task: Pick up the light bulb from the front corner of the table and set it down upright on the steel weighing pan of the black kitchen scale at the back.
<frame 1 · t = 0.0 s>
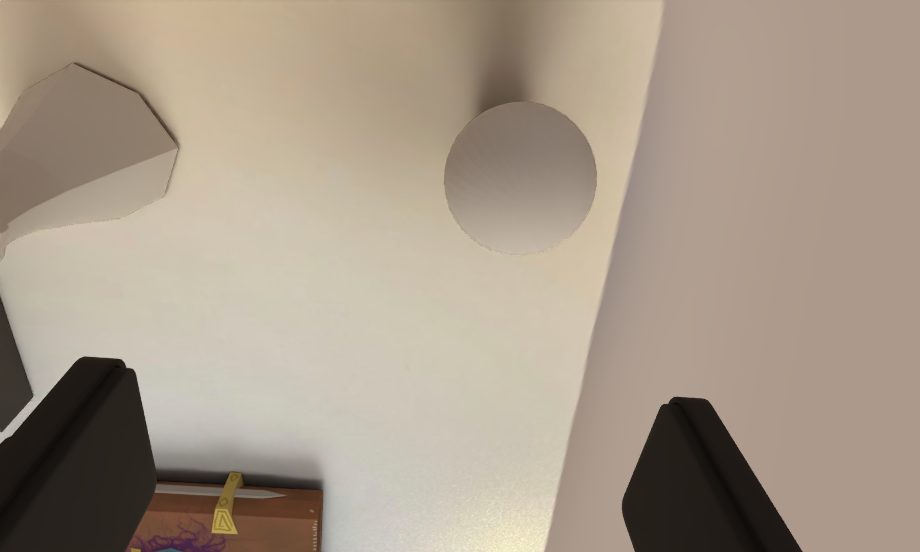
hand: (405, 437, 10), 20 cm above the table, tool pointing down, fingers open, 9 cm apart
book: (164, 537, 43), on the table
light bulb: (499, 129, 28), on the table
flask: (102, 143, 28), on the table
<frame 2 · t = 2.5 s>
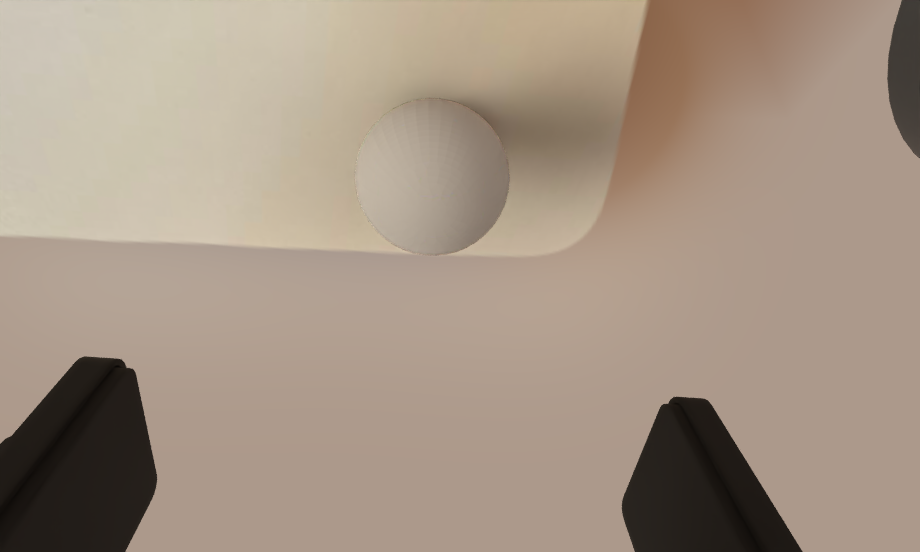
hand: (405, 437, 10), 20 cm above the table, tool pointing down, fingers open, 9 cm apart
light bulb: (434, 127, 28), on the table
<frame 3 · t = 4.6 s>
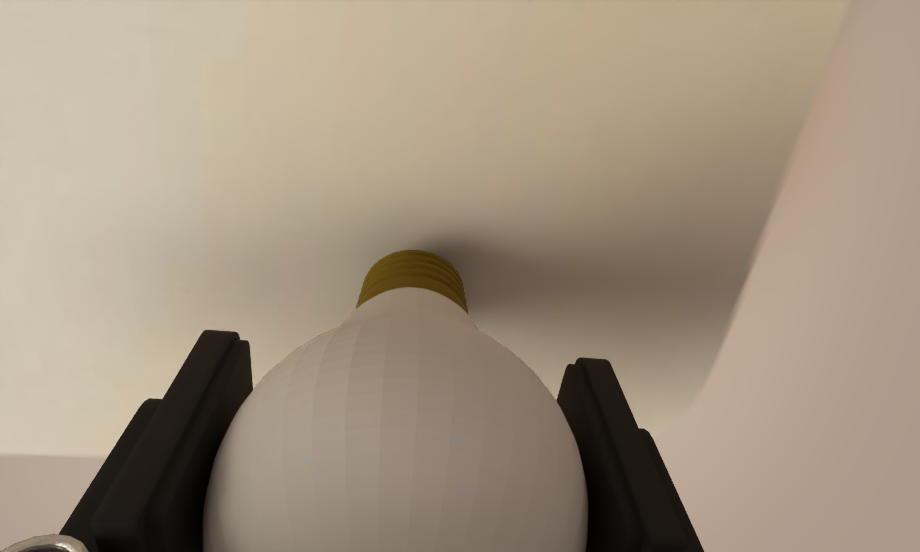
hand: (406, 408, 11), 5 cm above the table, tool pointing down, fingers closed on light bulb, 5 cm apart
light bulb: (414, 274, 15), on the table, touching gripper
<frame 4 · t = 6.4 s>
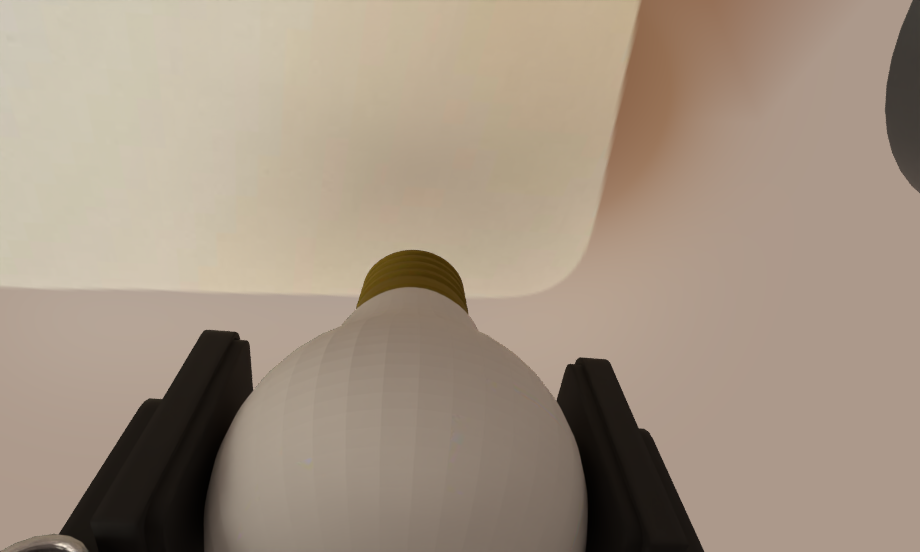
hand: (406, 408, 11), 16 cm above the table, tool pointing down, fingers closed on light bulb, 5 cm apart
light bulb: (414, 274, 15), point 11 cm above the table, touching gripper
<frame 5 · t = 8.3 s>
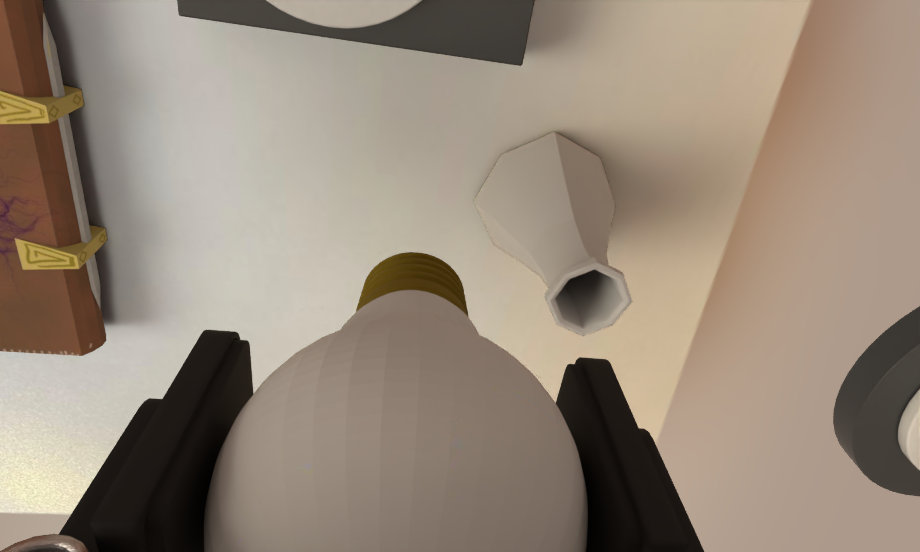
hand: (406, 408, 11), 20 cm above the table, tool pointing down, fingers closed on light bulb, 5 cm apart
light bulb: (414, 277, 15), point 15 cm above the table, touching gripper
flask: (543, 199, 30), on the table
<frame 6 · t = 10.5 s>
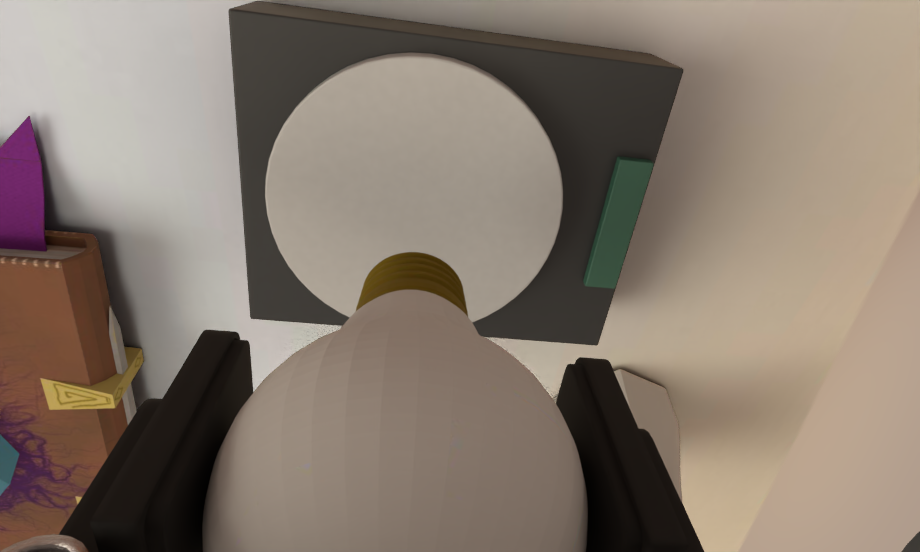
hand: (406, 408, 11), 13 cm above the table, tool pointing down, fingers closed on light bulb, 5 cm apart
scale: (443, 177, 22), on the table
light bulb: (414, 276, 15), point 8 cm above the table, touching gripper
flask: (604, 419, 30), on the table
when the fingers open (9 cm above the table, at t = 12.1 s): light bulb stays where it is, resting on scale.
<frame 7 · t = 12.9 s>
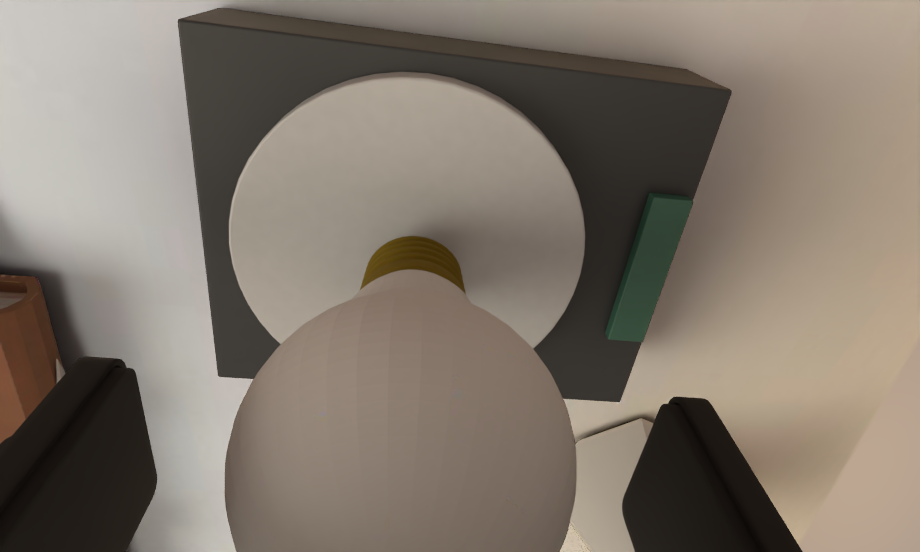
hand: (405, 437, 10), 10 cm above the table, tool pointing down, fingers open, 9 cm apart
scale: (442, 210, 19), on the table
light bulb: (414, 260, 16), point 4 cm above the table, touching scale
flask: (622, 470, 27), on the table
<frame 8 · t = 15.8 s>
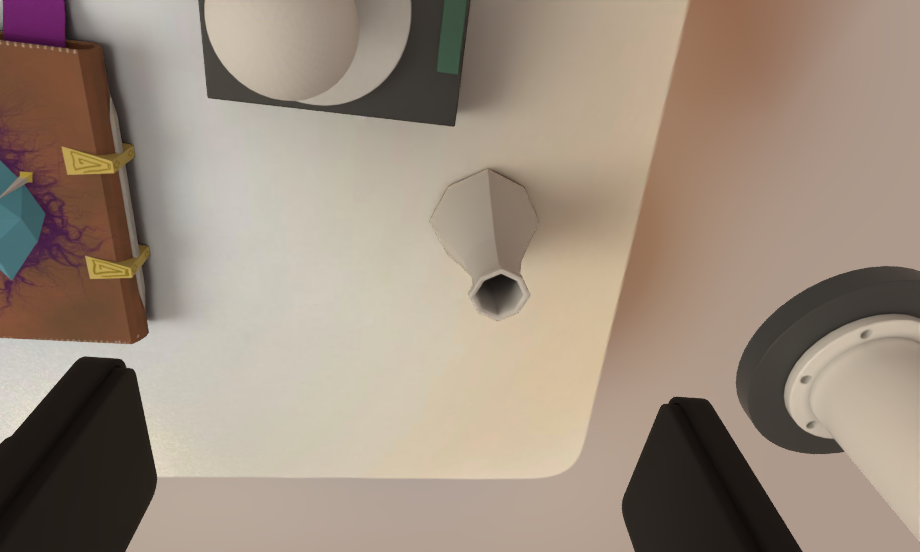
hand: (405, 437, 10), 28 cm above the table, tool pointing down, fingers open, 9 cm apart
scale: (343, 3, 32), on the table
book: (5, 156, 36), on the table
light bulb: (316, 8, 29), point 4 cm above the table, touching scale
flask: (483, 218, 39), on the table
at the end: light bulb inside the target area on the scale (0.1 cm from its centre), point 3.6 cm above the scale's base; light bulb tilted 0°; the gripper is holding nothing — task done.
